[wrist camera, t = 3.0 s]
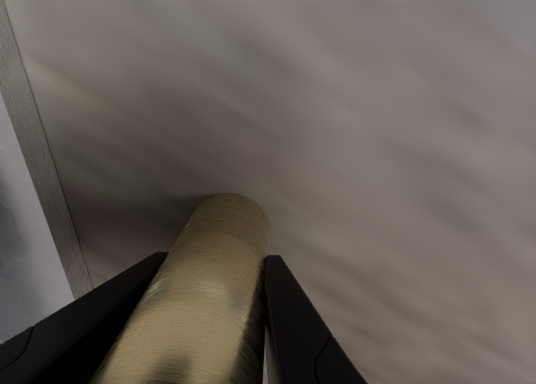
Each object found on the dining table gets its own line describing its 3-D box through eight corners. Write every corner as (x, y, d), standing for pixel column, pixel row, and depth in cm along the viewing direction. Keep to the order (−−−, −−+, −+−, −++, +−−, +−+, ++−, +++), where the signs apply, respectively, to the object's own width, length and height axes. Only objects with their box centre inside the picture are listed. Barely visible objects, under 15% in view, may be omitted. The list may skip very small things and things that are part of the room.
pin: (270, 264, 11) (257, 540, 4) (194, 262, 11) (74, 529, 5) (271, 194, 10) (255, 434, 3) (186, 192, 10) (7, 422, 3)
